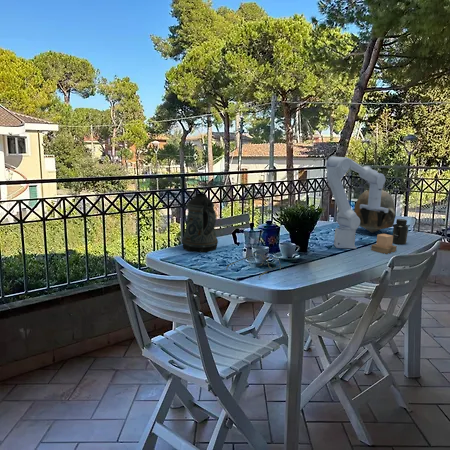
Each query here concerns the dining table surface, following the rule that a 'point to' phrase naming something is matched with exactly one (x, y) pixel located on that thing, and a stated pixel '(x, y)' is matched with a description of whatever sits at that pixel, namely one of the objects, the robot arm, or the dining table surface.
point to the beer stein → (200, 225)
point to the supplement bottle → (400, 232)
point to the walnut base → (383, 249)
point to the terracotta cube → (384, 240)
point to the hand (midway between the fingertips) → (372, 225)
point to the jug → (372, 217)
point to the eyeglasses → (261, 264)
